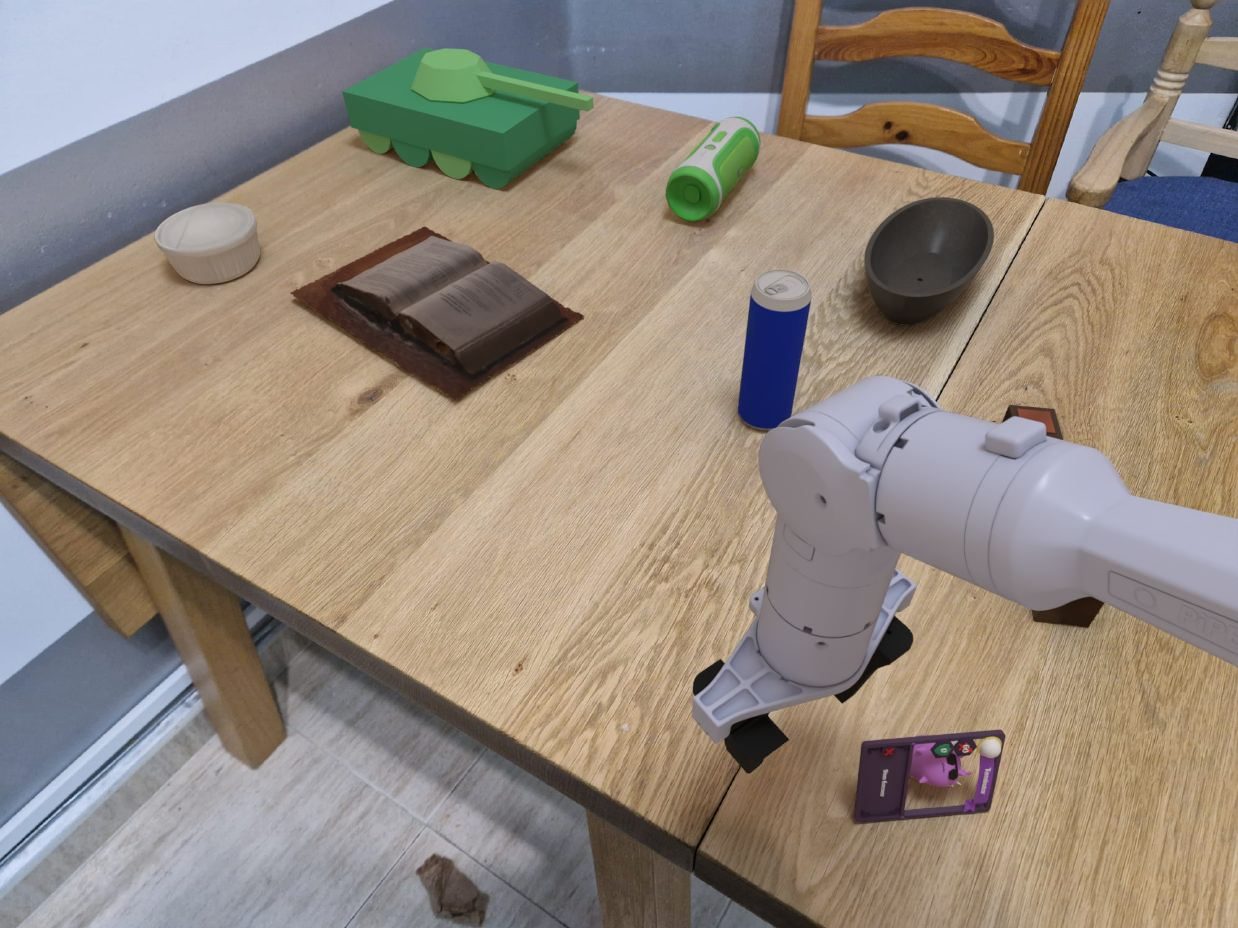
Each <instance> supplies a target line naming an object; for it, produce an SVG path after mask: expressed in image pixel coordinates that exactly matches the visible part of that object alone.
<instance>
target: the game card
mask: <svg viewBox="0 0 1238 928" xmlns="http://www.w3.org/2000/svg"><path fill="white" fill-rule="evenodd" d="M975 740H980V741H979V742H978V744H976V742H975ZM1005 741H1006V734H1005V732H1004V731H1003V729H991V730H990V729H988V730H977V731H965V732H955V733H954V732H953V733H940V734H919V735H914V736H908V737H907V736H906V737H894V738H882V739H870V740H863V741H862V742H861V744H860V754H859V762H858V771H857V781H856V788H855V798H854V807H853V815H852V817H853V819H854V822H855V823H856V824H863V823H876V822H877V823H878V822H887V821H897V820H909V819H910V820H911V819H921V818H932V817H941V816H944V817H945V816H954V815H964V814H977V813H987V812H989V811H990V810H991V808H992V803H993V799H994V795H995V790H996V789H995V788H996V784H997V780H998V775H999V770H1000V765H1001V760H1002V756H1003V751H1004V746H1005ZM975 750H976V751H977V753H978V754H979V768H978V776H977V782H976V787H975V792H974V793H975V794H974V797H973V798H971V799H966V800H965V802H964V804H957V805H946V806H935V807H926V808H924V807H923V808H914V809H906V802H907V796H908V789H909V783H910V777H911V778H913V779H915V780H917V781H918V783H919V784H927V785H929V786H933V787H937V788H945V787H948V786H949V787H952V788H955V786H954V784H957V785H959V786H962V785H963V784H962V783H960V782H959V776H962V777H967V776H971V775H972V772H970V771H966V770H963V769H962V758H964V757H967V756H971V755H972V754H973V752H974V751H975Z"/></svg>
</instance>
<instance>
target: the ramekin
mask: <svg viewBox="0 0 1238 928" xmlns="http://www.w3.org/2000/svg"><path fill="white" fill-rule="evenodd" d="M153 238H154V239H153V240H154V242H155V244H156V246H157V248H158V250H160V252H162V253H163V254H164V255H165V257H166V259H167V260H168V262H169V263H170V264H171V265H172V267H173V268H174V270H175V271H176V272H177V274H178V275H179V276H180V277H182V278H183V279H185V280H187V281H188V282H191V283H194V284H198V285H215V284H222V283H226V282H230V281H234V280H235V279H237V278H240V277H242V276H244V275H246V274H247V273H249V272H250V271H251V270H252V269H253V268H254V267H255V266H256V264H257V263H258V260H259V259H260V256H261V248H260V241H259V235H258V220H257V218H256V215H255V213H254V212H253V211H252V210H251V209H250V208H249V207H247V206H244V205H242V204H239V203H233V202H227V201H226V202H225V201H221V202H219V201H217V202H208V203H202V204H197V205H193V206H190V207H187V208H185V209H182V210H180V211H177V212H176V213H174V214H171V215H169V216H168V217H167V218H166V219H165V220H163V221H162V222H161V223H160V224H159V225H158V226H157V228H156V230H155V231H154V236H153Z"/></svg>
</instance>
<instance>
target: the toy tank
mask: <svg viewBox="0 0 1238 928" xmlns="http://www.w3.org/2000/svg"><path fill="white" fill-rule="evenodd" d="M342 96H343V101H344V104H345V108H346V112H347V113H346V114H347V117H348V120H349V124H350V128H351V129H355V130H358V133H359V135H360V138H361V139H362V141H363V142H364V144H365V145H366V147H368V148H369V149H370V150H371V151H372V152H374V153H376V154H380V155H381V154H383V155H384V154H385V153H387V152H388V151H390V150H392V149H394V151H395V152H396V154H397V156H398V157H399V158H400V159H401V160H402V161H403V162H404V163H406V164H407V165H409V166H411V167H414V168H420V167H423V166H426V165H427V164H429V163H430V162H431V161H434V162H435V164H436V166H437V167H438V168H439V170H440V171H442V173H444V174H445V175H446V176H447V177H449V178H451V179H456V180H462V179H464V178H466V177H467V176H469V175H470V174H472V173H473V172H474V174H475V176H476V177H477V178H478V180H479V181H480V182H481V183H483V184H484V185H485V186H486V187H489V188H490V189H495V190H499V189H502V188H504V187H505V186H507V185H508V184H509V183H511V182H512V181H514V180H515V179H516V178H518V177H519V176H521V175H522V174H523V173H525V172H526V171H528V170H529V169H530V168H532V167H533V166H534V165H536V164H537V163H538V162H539V161H541V160H542V159H544V158H545V157H546V156H548V155H550V154H551V153H552V152H553V151H555V150H556V149H557V148H559V147H560V146H562V145H563V144H564V143H566V142H567V141H569V140H570V139H571V138H572V137H574V134H575V132H576V129H577V125H578V121H579V120H580V119H581V113H580V112H581V111H583V112H587V113H588V112H590V111H591V110H592V109H594V108H595V107H594V97H593V96H590V95H587V94H582V93H580V92H579V82H578V81H573V80H569V79H564V78H560V77H556V76H552V75H547V74H542V73H538V72H534V71H531V70H526V69H521V68H517V67H512V66H508V65H503V64H498V63H494V62H490V61H485V60H484V59H483V58H482V56H480V55H479V54H477V53H475V52H474V51H473V52H472V51H471V50H469V49H466V48H465V49H463V48H446V47H445V48H441V49H433V48H429V47H423V48H421V49H419V50H418V51H415V52H413V53H412V54H409V55H408V56H406V57H404V58H402V59H400V60H399V61H396V62H395V63H393V64H391V65H389V66H387V67H385V68H383V69H382V70H380V71H377V72H375V73H373V74H372V75H370V76H368V77H366V78H365V79H362V80H361V81H359V82H357V83H356V84H353V85H352V86H349V87H347V88H346V89H344V90H342Z"/></svg>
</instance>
